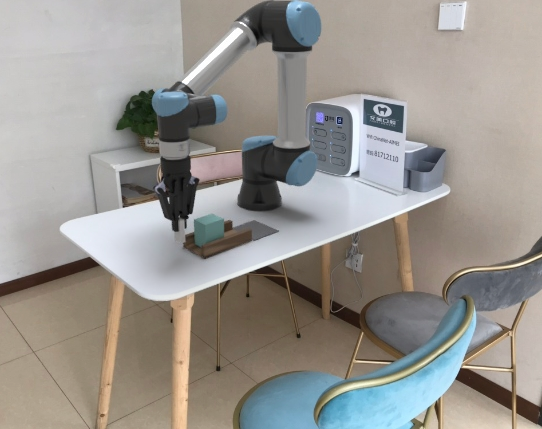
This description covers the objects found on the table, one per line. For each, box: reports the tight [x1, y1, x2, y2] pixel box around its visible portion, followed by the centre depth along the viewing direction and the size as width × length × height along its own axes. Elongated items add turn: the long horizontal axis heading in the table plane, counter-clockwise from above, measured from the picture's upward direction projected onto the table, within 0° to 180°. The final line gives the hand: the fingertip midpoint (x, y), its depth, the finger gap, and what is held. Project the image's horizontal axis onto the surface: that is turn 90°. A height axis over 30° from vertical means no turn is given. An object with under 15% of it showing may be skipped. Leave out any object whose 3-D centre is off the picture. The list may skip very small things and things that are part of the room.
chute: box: [182, 219, 253, 259], centre depth 153 cm, size 10×17×4 cm, turn 134°
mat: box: [233, 219, 280, 242], centre depth 162 cm, size 11×10×1 cm
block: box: [193, 213, 225, 247], centre depth 149 cm, size 5×6×8 cm
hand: (180, 241), depth 143 cm, fingers closed
